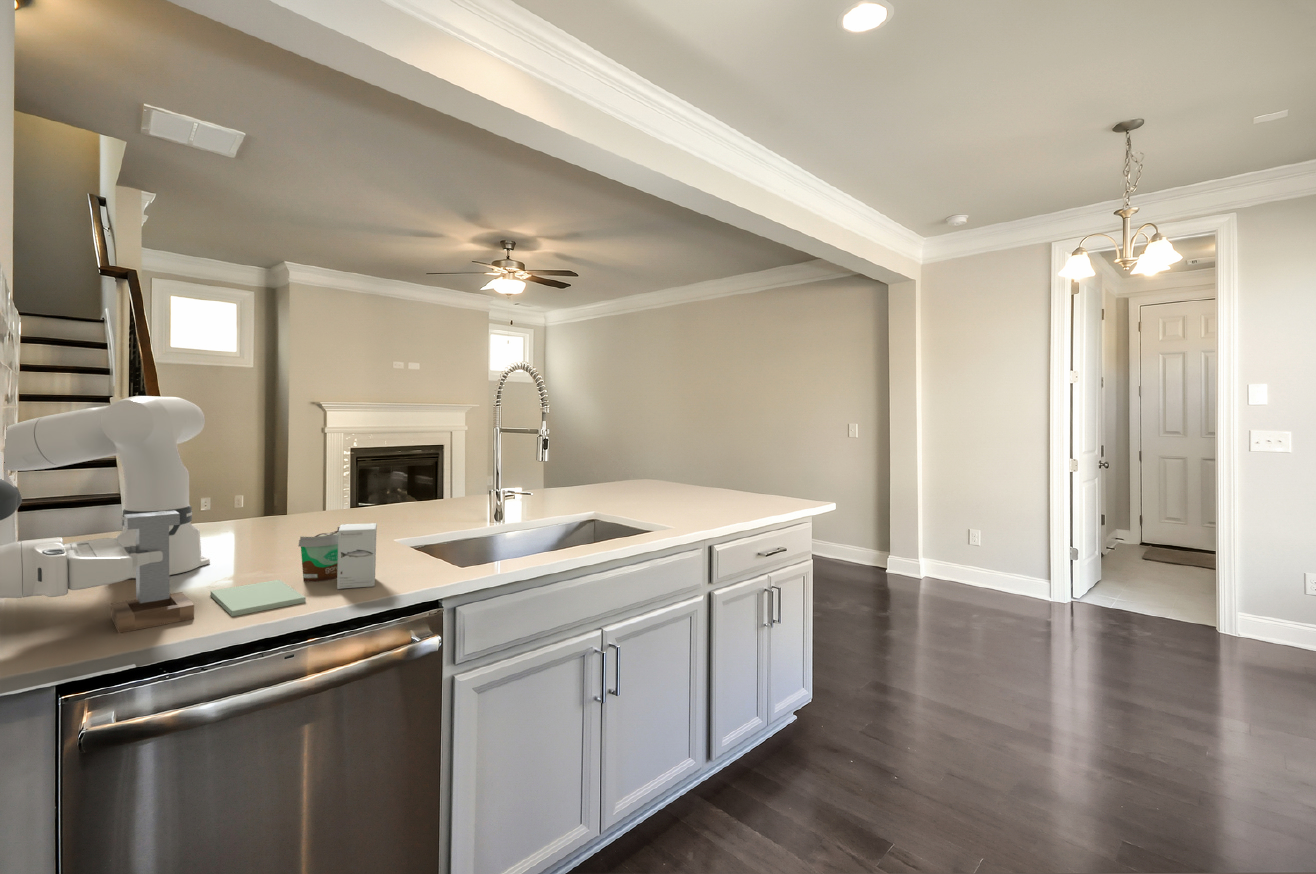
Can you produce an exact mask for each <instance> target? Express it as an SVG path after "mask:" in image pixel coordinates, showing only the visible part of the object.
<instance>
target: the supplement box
mask: <svg viewBox="0 0 1316 874" xmlns="http://www.w3.org/2000/svg"><path fill="white" fill-rule="evenodd" d="M339 527H340V528H339V532H338V572H337V578H336V582H337V583H336V589H337V590H342V589H351V588H354V589H355V588H372V587H375V586H376V565H377V564H376V563H377V556H376V555H377V530H378V528H377V527H378V523H376V522H375V523H372V522H371V523H346V524H345V523H344V524H340V525H339Z"/></svg>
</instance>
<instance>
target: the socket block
mask: <svg viewBox="0 0 1316 874" xmlns="http://www.w3.org/2000/svg"><path fill="white" fill-rule="evenodd" d="M110 618H111V621H112V623H113V624H114V626H115V628H116V630H117V632H118V634H121V633H126V632H130V631H131V632H132V631H136V630H142V629H147V628H152V627H157V626H162V625H168V624H173V623H178V622H184V621H188V620H189V621H190V620H194V619H195V604H194V603H193V602H192V601H191V600H190V599H189V598H188V597H187V596H186V594H184V592H183V591H179V592H173V593H172V592H171V593H169V599H164V600H158V601H152V602H146V603H139V601H138V600H137V599H130V600H125V601H118V602H117V601H116V602H111V603H110Z"/></svg>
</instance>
